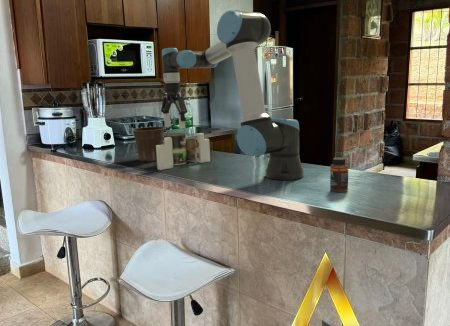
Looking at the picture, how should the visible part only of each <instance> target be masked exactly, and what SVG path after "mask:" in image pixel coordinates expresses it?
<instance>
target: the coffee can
mask: <svg viewBox="0 0 450 326" xmlns="http://www.w3.org/2000/svg"><path fill="white" fill-rule="evenodd" d="M166 137H170V138H171V140H172V157H173V166H182V165H186V164H187V163H188V161H187V158H186V140H185V138H186V133H182V132H181V133H168V134H167V133H166V134H164V136H163V139H164V138H166Z"/></svg>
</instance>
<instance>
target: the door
mask: <svg viewBox="0 0 450 326" xmlns="http://www.w3.org/2000/svg"><path fill="white" fill-rule="evenodd" d="M185 140H186V158H187V162H188V161H189V162H196V161H198V158H197V153H198V149H197V146H196V142H197V137H195V138H193V137H192V138H191V137H190V138H189V137H185Z"/></svg>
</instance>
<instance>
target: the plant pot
mask: <svg viewBox="0 0 450 326" xmlns="http://www.w3.org/2000/svg"><path fill="white" fill-rule="evenodd" d="M165 128H166V127H165V126H164V127H163V126H145V127H137V128H133V129H132V130H131V131H132V132H133V136H134V137H133V138H134V139H135V144H136V149H137V154H138V161H139V162H148V163H149V162H157V154H156V145H163V144H164V135H165Z"/></svg>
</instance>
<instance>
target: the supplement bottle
mask: <svg viewBox="0 0 450 326" xmlns="http://www.w3.org/2000/svg"><path fill="white" fill-rule="evenodd" d="M332 160H333V163H332V164H330V173H329V175H330V179H329V181H330V182H329V183H330V185H329V186H330V187H329V189H330V191H332V192H333V193H346V192H347V191H349V166H348V164H347V163H346V158H345V157H333V158H332Z"/></svg>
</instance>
